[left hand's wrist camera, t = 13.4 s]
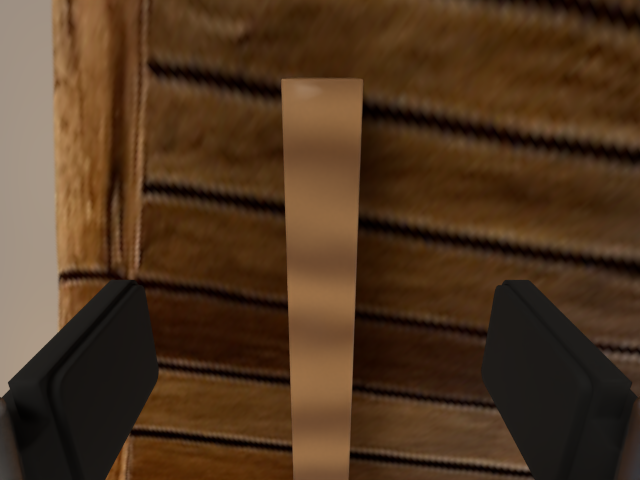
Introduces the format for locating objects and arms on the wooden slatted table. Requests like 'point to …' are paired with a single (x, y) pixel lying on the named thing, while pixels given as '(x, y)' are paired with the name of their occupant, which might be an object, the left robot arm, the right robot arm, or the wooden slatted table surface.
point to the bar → (321, 265)
